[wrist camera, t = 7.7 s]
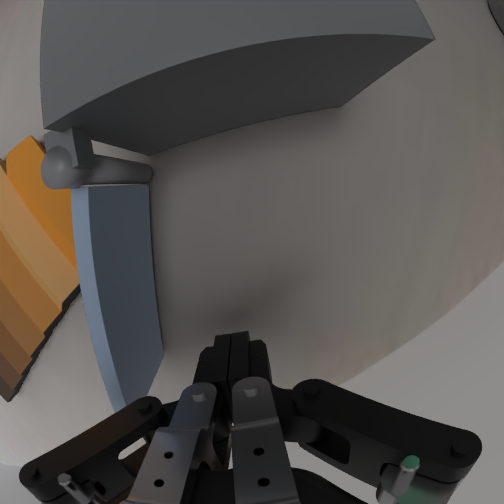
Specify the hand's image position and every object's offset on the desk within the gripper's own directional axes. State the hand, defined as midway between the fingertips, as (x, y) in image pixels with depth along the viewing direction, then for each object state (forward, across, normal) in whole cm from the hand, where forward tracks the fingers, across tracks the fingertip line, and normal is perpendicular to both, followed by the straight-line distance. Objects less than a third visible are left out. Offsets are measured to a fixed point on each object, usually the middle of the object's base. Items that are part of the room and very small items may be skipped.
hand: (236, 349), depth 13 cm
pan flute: (+6, +24, -9) cm, 26 cm away
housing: (+5, -1, -14) cm, 15 cm away
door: (+5, +5, -4) cm, 8 cm away
